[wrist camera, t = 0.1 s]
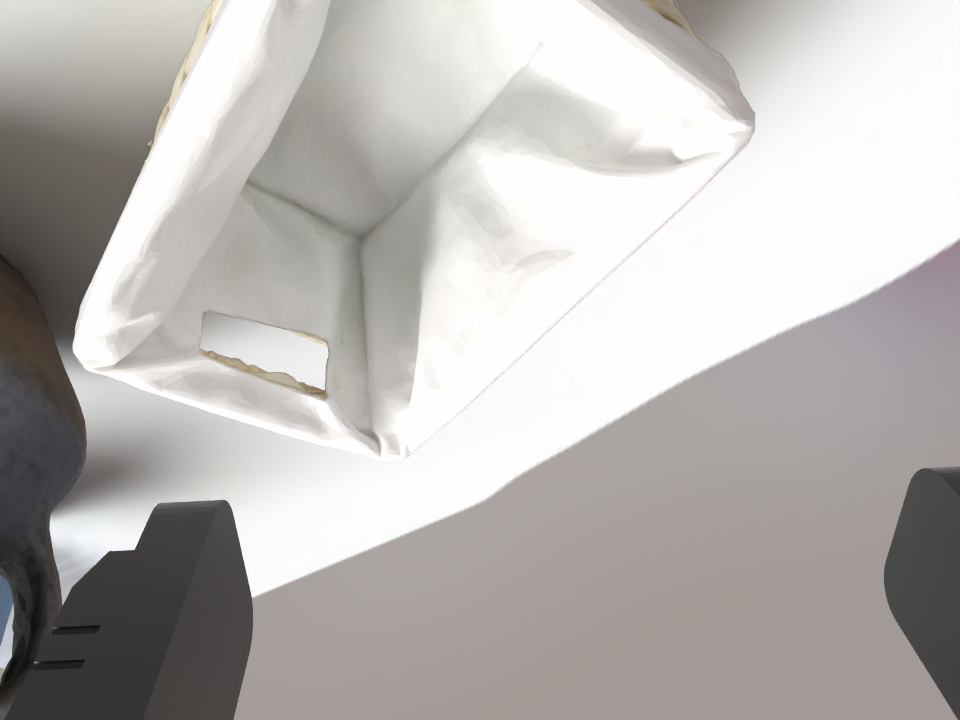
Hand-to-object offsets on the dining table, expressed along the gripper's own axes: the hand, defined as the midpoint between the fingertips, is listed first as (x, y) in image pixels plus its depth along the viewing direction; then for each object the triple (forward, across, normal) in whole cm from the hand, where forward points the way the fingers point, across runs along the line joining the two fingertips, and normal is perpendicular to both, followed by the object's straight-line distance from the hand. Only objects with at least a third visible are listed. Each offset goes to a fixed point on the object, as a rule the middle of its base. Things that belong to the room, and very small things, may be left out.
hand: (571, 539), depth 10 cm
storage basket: (+34, +4, 0) cm, 34 cm away
